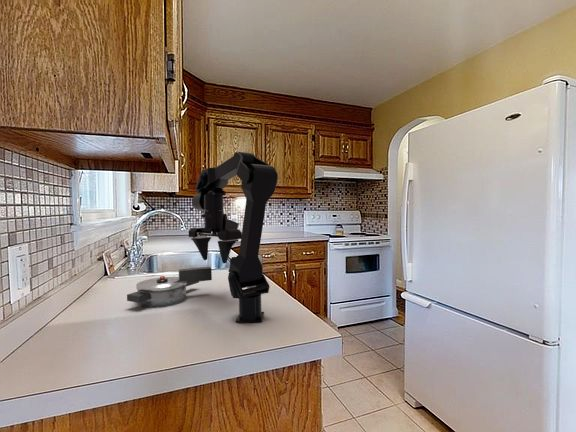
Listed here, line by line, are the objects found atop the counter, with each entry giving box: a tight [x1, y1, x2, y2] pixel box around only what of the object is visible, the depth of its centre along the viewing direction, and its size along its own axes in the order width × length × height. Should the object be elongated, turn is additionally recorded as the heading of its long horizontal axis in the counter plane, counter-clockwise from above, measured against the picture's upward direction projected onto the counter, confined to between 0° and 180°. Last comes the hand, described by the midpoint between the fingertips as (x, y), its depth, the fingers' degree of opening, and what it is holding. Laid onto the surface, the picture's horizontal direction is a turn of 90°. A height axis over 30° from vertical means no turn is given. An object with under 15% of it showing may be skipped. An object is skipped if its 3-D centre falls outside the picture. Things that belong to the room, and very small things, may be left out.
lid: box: [135, 266, 213, 291], centre depth 97 cm, size 22×15×4 cm, turn 115°
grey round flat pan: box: [126, 281, 200, 309], centre depth 97 cm, size 25×14×4 cm, turn 155°
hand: (214, 261), depth 93 cm, fingers open, 9 cm apart
